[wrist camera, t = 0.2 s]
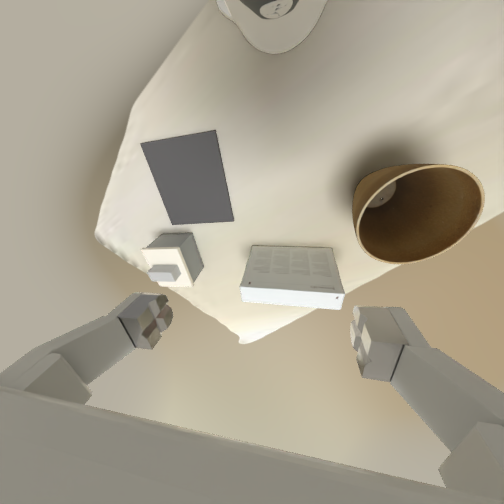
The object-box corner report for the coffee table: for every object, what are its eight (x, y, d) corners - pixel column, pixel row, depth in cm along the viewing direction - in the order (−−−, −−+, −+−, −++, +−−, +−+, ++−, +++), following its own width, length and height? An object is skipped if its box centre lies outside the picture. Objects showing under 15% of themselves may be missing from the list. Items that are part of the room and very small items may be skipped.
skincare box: (253, 260, 56) (240, 302, 43) (252, 244, 53) (238, 284, 40) (329, 264, 52) (341, 311, 39) (332, 247, 49) (346, 292, 36)
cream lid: (146, 244, 51) (132, 256, 47) (181, 243, 49) (170, 256, 44) (164, 280, 58) (153, 294, 54) (196, 281, 56) (187, 295, 51)
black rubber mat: (141, 143, 44) (140, 143, 43) (215, 130, 39) (214, 130, 39) (173, 224, 54) (172, 224, 54) (234, 220, 50) (233, 221, 50)
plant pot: (357, 234, 46) (382, 278, 33) (324, 184, 41) (337, 213, 28) (431, 195, 39) (500, 232, 26) (400, 130, 34) (466, 134, 21)
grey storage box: (161, 234, 57) (144, 248, 50) (192, 232, 55) (178, 247, 48) (176, 266, 63) (162, 283, 57) (203, 266, 61) (193, 283, 54)
